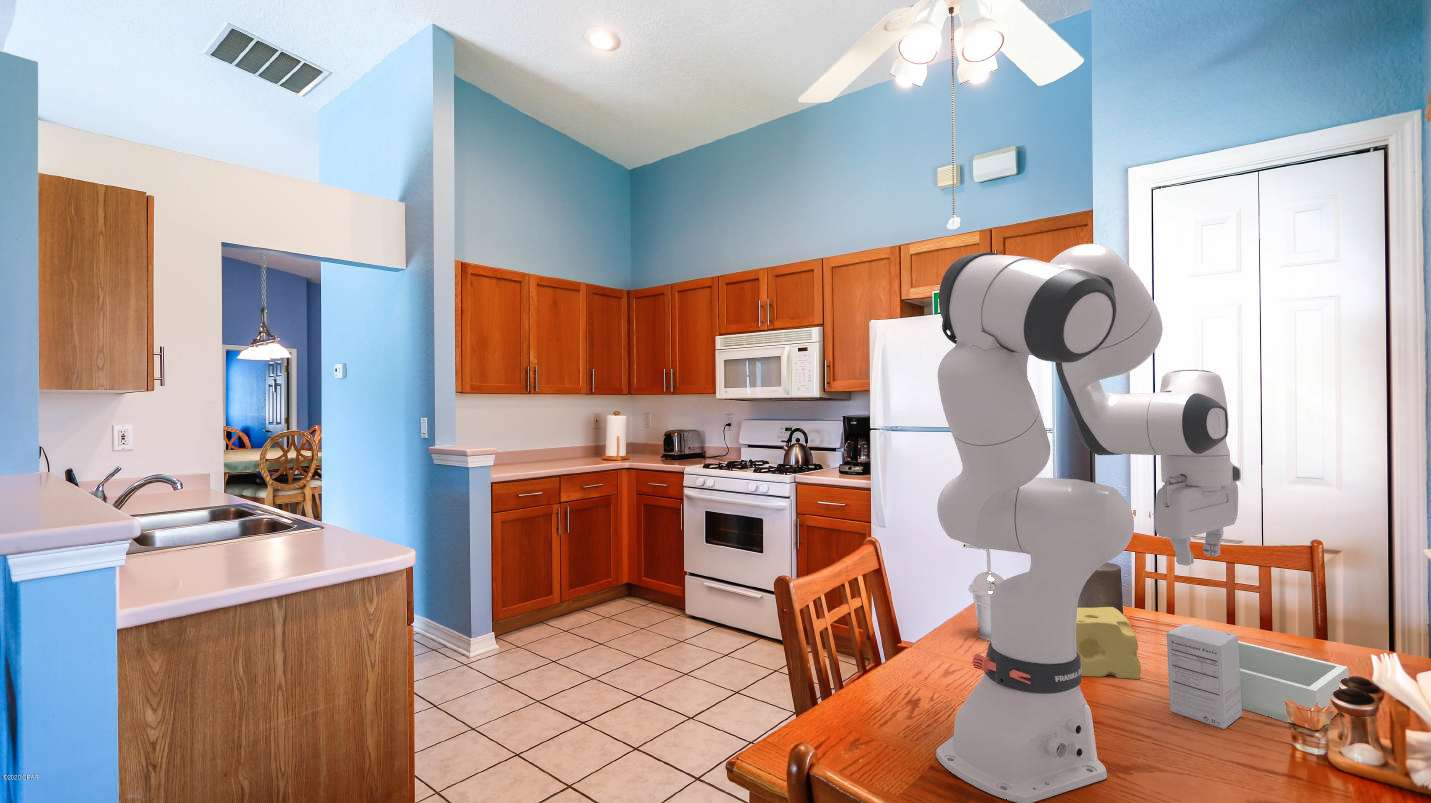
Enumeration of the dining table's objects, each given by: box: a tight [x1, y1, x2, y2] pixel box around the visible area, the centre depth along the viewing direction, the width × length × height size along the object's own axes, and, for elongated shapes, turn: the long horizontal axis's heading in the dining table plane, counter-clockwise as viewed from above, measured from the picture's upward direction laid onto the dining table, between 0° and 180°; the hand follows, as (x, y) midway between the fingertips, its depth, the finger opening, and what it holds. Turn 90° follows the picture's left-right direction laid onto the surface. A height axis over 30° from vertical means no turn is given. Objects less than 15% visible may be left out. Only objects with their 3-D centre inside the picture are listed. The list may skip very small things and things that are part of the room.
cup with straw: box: [962, 543, 1005, 642], centre depth 135 cm, size 8×9×20 cm
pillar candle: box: [1077, 561, 1124, 615], centre depth 139 cm, size 10×10×15 cm
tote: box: [1238, 640, 1349, 724], centre depth 103 cm, size 15×15×6 cm
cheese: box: [1076, 607, 1142, 680], centre depth 118 cm, size 10×11×10 cm
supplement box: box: [1166, 623, 1243, 730], centre depth 99 cm, size 7×7×13 cm
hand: (1198, 559), depth 100 cm, fingers open, 8 cm apart
